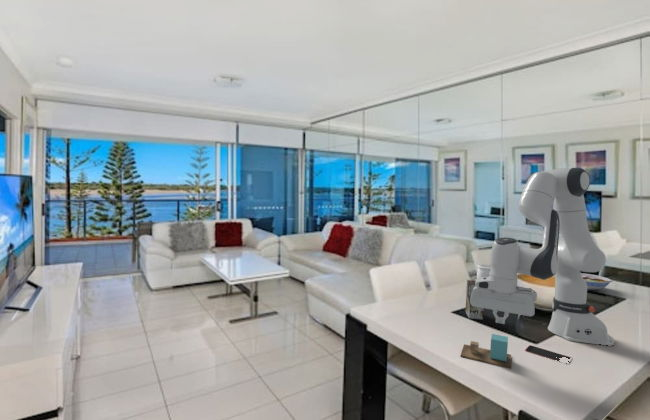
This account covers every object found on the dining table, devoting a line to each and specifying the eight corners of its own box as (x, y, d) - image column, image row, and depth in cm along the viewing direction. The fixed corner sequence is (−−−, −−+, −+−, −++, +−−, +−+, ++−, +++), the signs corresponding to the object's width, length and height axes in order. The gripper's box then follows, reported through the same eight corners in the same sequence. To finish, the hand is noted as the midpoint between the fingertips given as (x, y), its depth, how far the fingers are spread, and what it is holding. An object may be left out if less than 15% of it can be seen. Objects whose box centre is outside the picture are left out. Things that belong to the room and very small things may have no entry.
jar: (472, 288, 212) (473, 264, 210) (486, 287, 215) (487, 263, 214) (485, 294, 201) (486, 268, 200) (499, 293, 205) (501, 267, 203)
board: (511, 356, 127) (511, 345, 126) (510, 368, 118) (511, 357, 118) (464, 345, 134) (464, 335, 134) (460, 356, 126) (461, 345, 125)
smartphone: (569, 364, 122) (524, 350, 131) (568, 366, 122) (524, 351, 131) (572, 357, 127) (529, 344, 136) (572, 359, 127) (529, 346, 136)
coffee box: (483, 319, 162) (485, 285, 161) (468, 318, 163) (470, 284, 162) (478, 312, 171) (480, 280, 170) (464, 311, 172) (466, 279, 171)
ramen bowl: (609, 288, 222) (610, 275, 221) (615, 297, 203) (616, 283, 202) (562, 281, 235) (563, 269, 235) (563, 289, 216) (564, 276, 215)
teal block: (506, 355, 125) (508, 336, 125) (506, 361, 121) (507, 342, 120) (490, 351, 128) (491, 333, 127) (489, 357, 123) (491, 339, 123)
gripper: (536, 287, 120) (533, 326, 121) (472, 278, 130) (470, 314, 131) (537, 291, 115) (534, 332, 116) (470, 281, 124) (468, 319, 125)
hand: (500, 322), depth 123 cm, fingers closed
